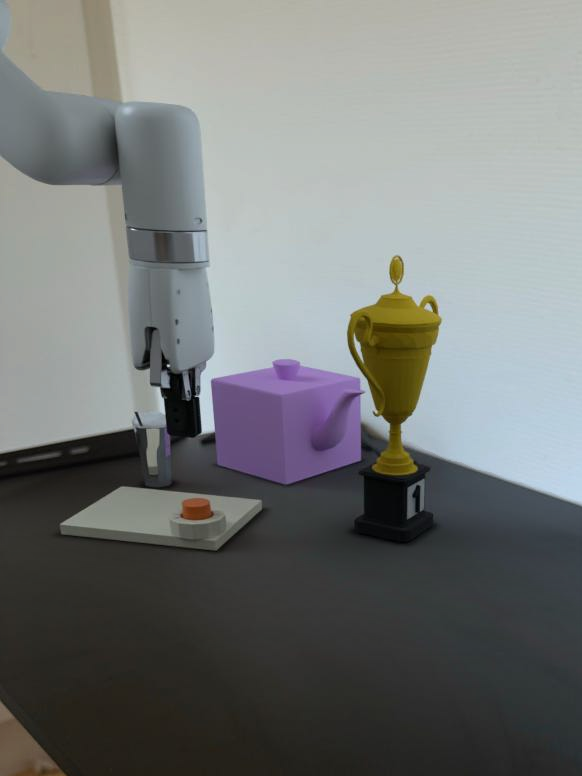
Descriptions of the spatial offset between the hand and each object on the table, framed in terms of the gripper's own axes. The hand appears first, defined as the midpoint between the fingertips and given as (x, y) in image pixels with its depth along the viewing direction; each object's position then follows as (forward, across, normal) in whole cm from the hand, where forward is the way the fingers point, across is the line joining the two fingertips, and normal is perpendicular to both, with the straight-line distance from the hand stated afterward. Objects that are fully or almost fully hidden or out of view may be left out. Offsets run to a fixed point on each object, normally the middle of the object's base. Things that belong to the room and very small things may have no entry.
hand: (184, 434), depth 99 cm
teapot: (+12, -30, +2) cm, 32 cm away
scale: (+12, -4, -5) cm, 13 cm away
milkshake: (+12, -16, -12) cm, 23 cm away
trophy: (+12, -9, +21) cm, 26 cm away
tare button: (+9, +1, +1) cm, 9 cm away
